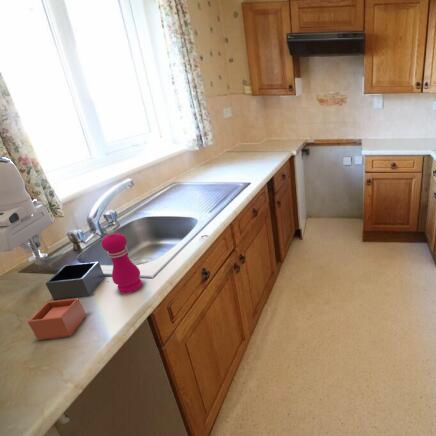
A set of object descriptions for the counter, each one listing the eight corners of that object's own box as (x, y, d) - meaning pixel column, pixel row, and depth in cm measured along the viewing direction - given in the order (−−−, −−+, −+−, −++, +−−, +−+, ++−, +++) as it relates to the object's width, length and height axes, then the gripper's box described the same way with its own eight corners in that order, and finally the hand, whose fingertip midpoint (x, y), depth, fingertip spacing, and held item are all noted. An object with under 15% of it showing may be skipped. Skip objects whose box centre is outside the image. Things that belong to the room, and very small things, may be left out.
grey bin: (53, 299, 95) (45, 283, 93) (72, 280, 104) (64, 265, 101) (89, 295, 96) (82, 279, 94) (105, 277, 105) (98, 261, 102)
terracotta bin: (37, 340, 81) (27, 321, 78) (56, 319, 87) (47, 301, 85) (70, 336, 81) (61, 317, 79) (86, 315, 88) (78, 297, 86)
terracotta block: (48, 332, 82) (41, 319, 80) (59, 320, 86) (52, 307, 84) (67, 330, 83) (60, 317, 81) (76, 318, 87) (70, 305, 85)
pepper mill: (136, 277, 104) (117, 222, 95) (148, 285, 100) (129, 227, 91) (113, 289, 98) (89, 231, 90) (124, 297, 95) (101, 238, 86)
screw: (31, 261, 106) (50, 257, 108) (30, 268, 102) (49, 263, 105) (14, 226, 100) (34, 222, 103) (12, 232, 97) (33, 227, 99)
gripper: (28, 198, 106) (44, 235, 112) (-24, 224, 88) (-2, 267, 94) (49, 196, 107) (64, 233, 113) (1, 223, 88) (22, 265, 94)
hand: (34, 249), depth 103 cm, fingers closed on screw, 2 cm apart
